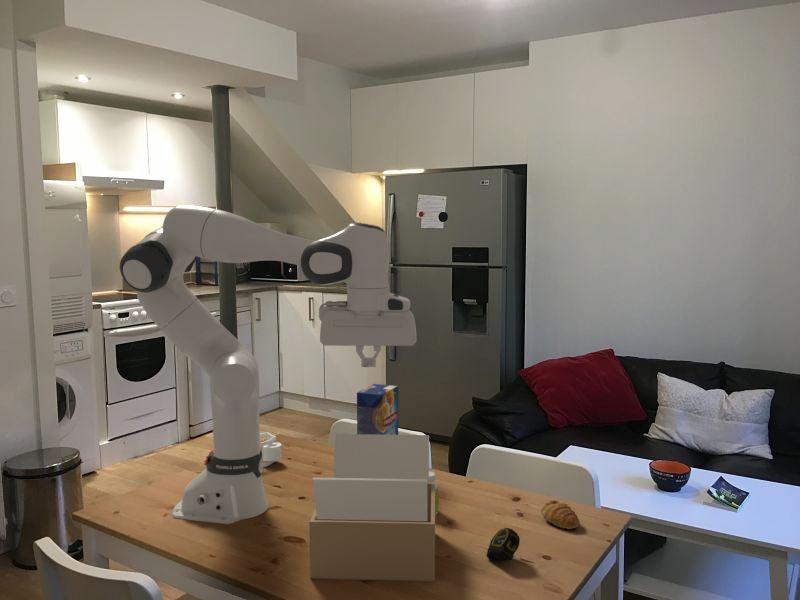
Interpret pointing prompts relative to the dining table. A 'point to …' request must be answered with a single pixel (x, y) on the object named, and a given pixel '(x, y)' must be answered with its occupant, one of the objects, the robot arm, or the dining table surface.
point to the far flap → (381, 456)
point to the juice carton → (377, 410)
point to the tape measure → (503, 545)
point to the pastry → (560, 515)
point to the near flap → (371, 499)
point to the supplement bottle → (431, 479)
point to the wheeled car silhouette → (270, 449)
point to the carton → (374, 548)
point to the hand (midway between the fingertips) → (368, 366)
